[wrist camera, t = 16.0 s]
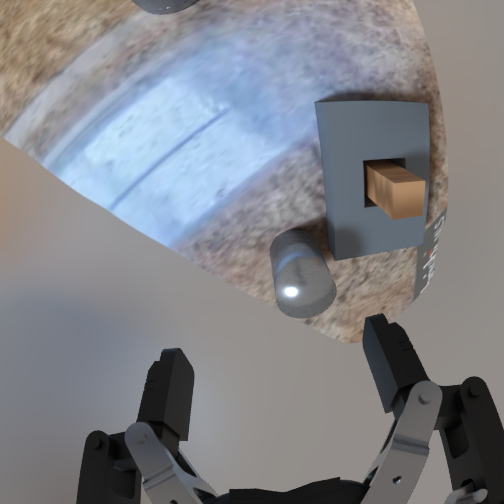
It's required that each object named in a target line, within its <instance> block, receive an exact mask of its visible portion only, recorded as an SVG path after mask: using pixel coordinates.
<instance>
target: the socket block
mask: <svg viewBox="0 0 504 504" xmlns="http://www.w3.org/2000/svg"><path fill="white" fill-rule="evenodd" d="M315 109H316V116H317V123H318V131H319V139H320V147H321V156H322V166H323V176H324V188H325V200H326V215H327V234H328V247H329V249H330V251H331V253H332V255H333V257H334V259H335V261H337V260H343V259H348V258H354V257H360V256H365V255H371V254H376V253H381V252H387V251H392V250H397V249H403V248H408V247H413V246H418V245H423V239H424V231H425V224H426V215H427V205H428V192H429V174H430V127H429V109H428V103H420V102H410V101H388V100H350V101H328V102H315ZM390 158H391V162H392V163H394V164H396V165H398V166H400V167H402V168H404V169H406V170H407V171H409V172H411V173H413V174H415V175H416V176H418V177H420V178H422V179H423V180H425V196H424V208H423V216H416V217H410V218H403V219H396V220H392V219H391V218H390V217H389V216H388V215H387V214H386V213H385V212H384V211H383V210H382V209H381V208H380V207H379V206H378V205H377V204H376V203H374V202H373V201H372V200H371V199H370V198H369V197H368V196H367V195H364V171H363V160H375V159H390Z"/></svg>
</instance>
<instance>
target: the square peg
mask: <svg viewBox="0 0 504 504" xmlns="http://www.w3.org/2000/svg"><path fill="white" fill-rule="evenodd" d="M363 171H364V194H366V195H367V196H368V197H369V198H370V199H371V200H372V201H373V202H374V203H376V204H377V205H378V206H379V207H380V208H381V209H382V210H383V211H384V212H385V213H386V214H387V215H388V216H389V217H390V218H391V219H392V220H396V219H403V218H410V217H416V216H423V208H424V196H425V180H423V179H422V178H420V177H418V176H416V175H415V174H413V173H411V172H409V171H407V170H406V169H404V168H402V167H400V166H398V165H396V164H394V163H392V162H390V161H388V160H387V159H375V160H363Z"/></svg>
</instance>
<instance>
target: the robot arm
mask: <svg viewBox="0 0 504 504" xmlns="http://www.w3.org/2000/svg"><path fill="white" fill-rule="evenodd" d="M131 1H132V2H134V3H135V4H136V5H138V6H139V7H140V8H142V9H143V10H145V11H146V12H149V13H152V14H160V15H161V14H170V13H175V12H178V11H180V10H183V9H185V8H187V7H189V6H190V5H192V4H193V3H195V2H196V1H197V0H131ZM362 341H363V349H364V352H365V355H366V358H367V361H368V363H369V366H370V369H371V372H372V374H373V378H374V380H375V383H376V386H377V389H378V392H379V395H380V398H381V401H382V404H383V408H384V411H385V413H389V412H391V411H393V414H394V417H395V418H394V421H393V423H392V425H391V428H390V430H389V432H388V435H387V437H386V439H385V441H384V444H383V446H382V448H381V450H380V452H379V454H378V456H377V457H376V459H375V461H374V462H373V464H372V466H371V467H370V469H369V471H368V473H367V475H366V477H365V478H364V480H363V482H362V483H360V482H357V481H352V480H340V477H337V478H332V479H328V480H322V481H317V482H312V483H309V484H307V485H304V486H302V487H299V488H296V489H293V490H290V491H288V492H277V491H269V490H262V489H230V490H229V493H226V494H223V495H221V496H219V495H218V494H217V493H216V492H215V490H214V489H213V488H212V487H211V486H210V485H209V484H208V483H207V482H205V481H204V480H203V479H202V478H201V477H200V476H199V474H198V473H197V472H196V470H195V469H194V468H193V466H192V465H191V464H190V462H189V461H188V460H187V458H186V457H185V455H184V454H183V453H182V451H181V450H180V448H179V441H188V432H189V423H190V413H191V404H192V395H193V387H194V370H193V367H192V365H191V364H190V363H189V361H188V359H187V358H186V356H185V355H184V353H183V351H182V350H181V349H180V348H174V349H164V350H163V351H162V353H161V357H160V361H155V362H154V363H153V365H152V366H151V368H150V369H149V371H148V375H147V379H146V383H145V387H144V392H143V396H142V400H141V404H140V409H139V414H138V418H137V421H136V423H134V424H132V425H131V426H129V427H128V429H127V430H126V431H125V432H121V433H117V434H112V435H107V434H106V433H104V432H103V431H99V430H97V431H93V432H92V433H90V434H89V435H88V437H87V439H86V442H85V447H84V453H83V459H82V464H81V470H80V477H79V485H78V493H77V503H76V504H140V498H141V478H142V475H143V477H144V480H145V481H144V482H143V488H144V490H145V492H146V494H147V495H148V497H149V498H150V500H151V502H152V503H153V504H407V502H408V500H409V498H410V496H411V494H412V492H413V490H414V488H415V486H416V484H417V482H418V479H419V477H420V475H421V472H422V470H423V468H424V465H425V463H426V460H427V457H428V454H429V448H428V445H429V441H430V438H431V435H432V432H433V430H439V432H440V436H441V439H442V443H443V447H444V451H445V455H446V459H447V464H448V468H449V473H450V478H451V483H452V489H453V492H452V493H450V495H449V496H448V497H447V499H446V501H445V503H444V504H504V429H503V426H502V423H501V421H500V418H499V415H498V412H497V409H496V407H495V404H494V402H493V399H492V397H491V394H490V392H489V389H488V387H487V385H486V383H485V382H484V381H483V380H482V379H481V378H479V377H475V376H474V377H469V378H467V379H466V380H465V381H464V382H463V383H462V384H461V385H453V386H439V385H437V384H436V383H434V382H432V381H431V380H430V379H429V378H428V376H427V375H426V373H425V370H424V368H423V366H422V364H421V362H420V360H419V358H418V355H417V354H416V351H415V349H413V345H412V344H411V341H409V338H408V336H407V334H406V332H405V330H404V329H403V328H402V327H401V326H399V325H398V324H397V323H396V322H394V323H391V324H389V323H388V321H387V319H386V317H385V315H384V314H383V313H381V314H377V315H373V316H369V317H366V318H365V325H364V332H363V340H362Z"/></svg>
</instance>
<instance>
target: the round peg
mask: <svg viewBox="0 0 504 504" xmlns="http://www.w3.org/2000/svg"><path fill="white" fill-rule="evenodd" d="M270 258H271V266H272V273H273V280H274V288H275V295H276V302H277V305H278V307H279V309H280V310H281V311H282V312H283V313H284V314H286V315H288V316H290V317H293V318H310V317H314V316H316V315H319V314H321V313H322V312H324V311H325V310H327V309H328V308H329V307H330V306H331V304H332V303H333V301H334V300H335V297H336V292H337V290H336V285H335V282H334V280H333V278H332V275H331V273H330V271H329V268H328V266H327V264H326V261H325V259H324V257H323V255H322V252H321V250H320V248H319V246H318V243H317V241H316V239H315V238H314V237H313V235H311V234H310V233H309V232H307V231H305V230H301V229H291V230H287V231H285V232H283V233H281V234H279V235H278V236H277V237H276V238H275V239H274V241H273V242H272V244H271V247H270Z"/></svg>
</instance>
